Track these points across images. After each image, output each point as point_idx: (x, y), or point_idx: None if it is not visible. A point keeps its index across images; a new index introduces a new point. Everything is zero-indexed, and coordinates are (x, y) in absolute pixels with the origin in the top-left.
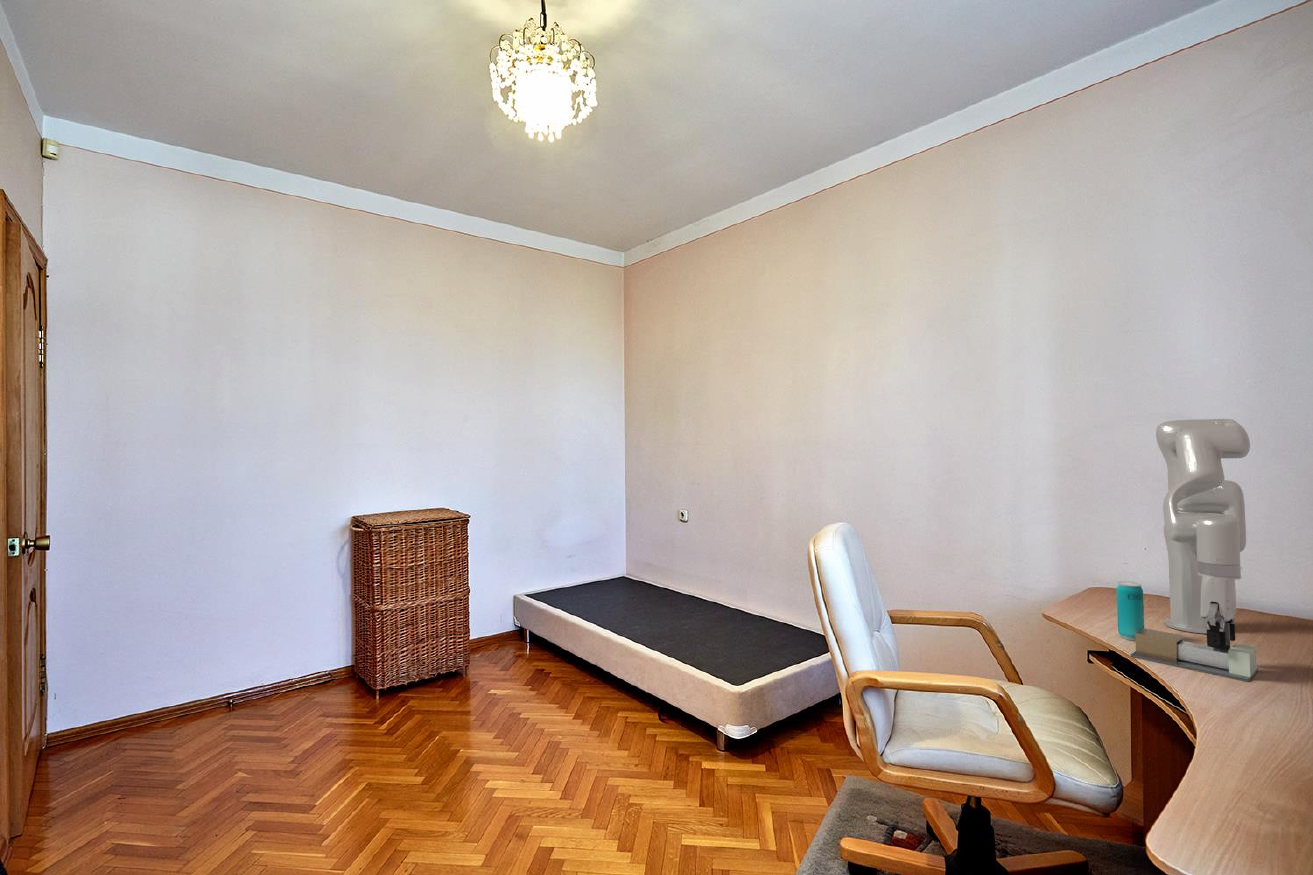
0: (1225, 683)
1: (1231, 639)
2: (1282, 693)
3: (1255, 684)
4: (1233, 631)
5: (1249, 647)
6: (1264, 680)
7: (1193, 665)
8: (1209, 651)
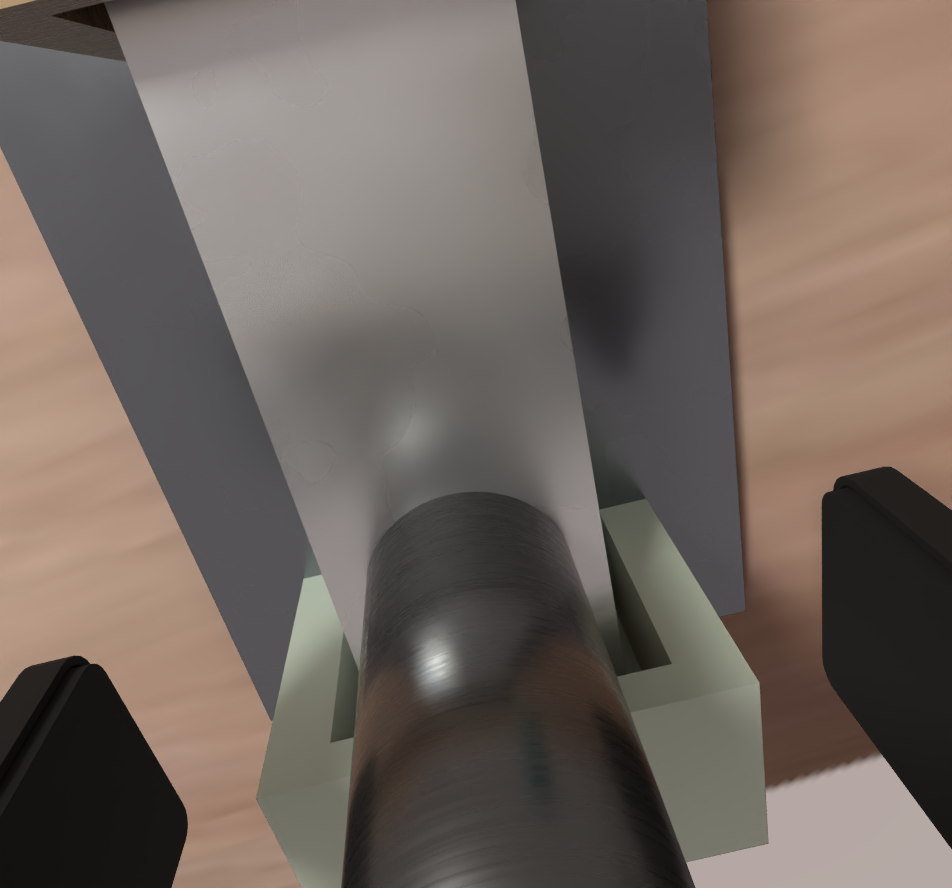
0: (15, 649)
1: (834, 657)
2: (235, 877)
3: (263, 742)
4: (935, 819)
5: (679, 825)
6: None
7: (180, 283)
8: (301, 497)
